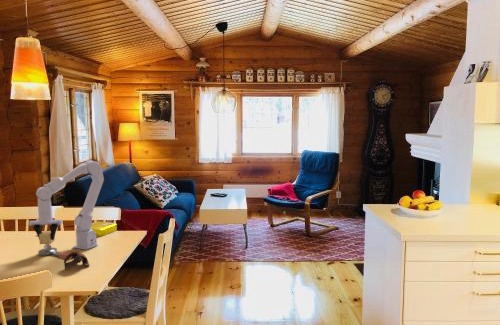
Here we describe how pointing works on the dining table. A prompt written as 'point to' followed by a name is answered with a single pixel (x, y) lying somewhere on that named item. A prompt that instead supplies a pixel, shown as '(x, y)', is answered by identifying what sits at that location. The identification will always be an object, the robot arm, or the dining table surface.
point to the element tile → (103, 228)
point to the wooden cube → (45, 237)
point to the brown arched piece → (75, 259)
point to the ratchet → (52, 252)
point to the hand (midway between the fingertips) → (47, 239)
